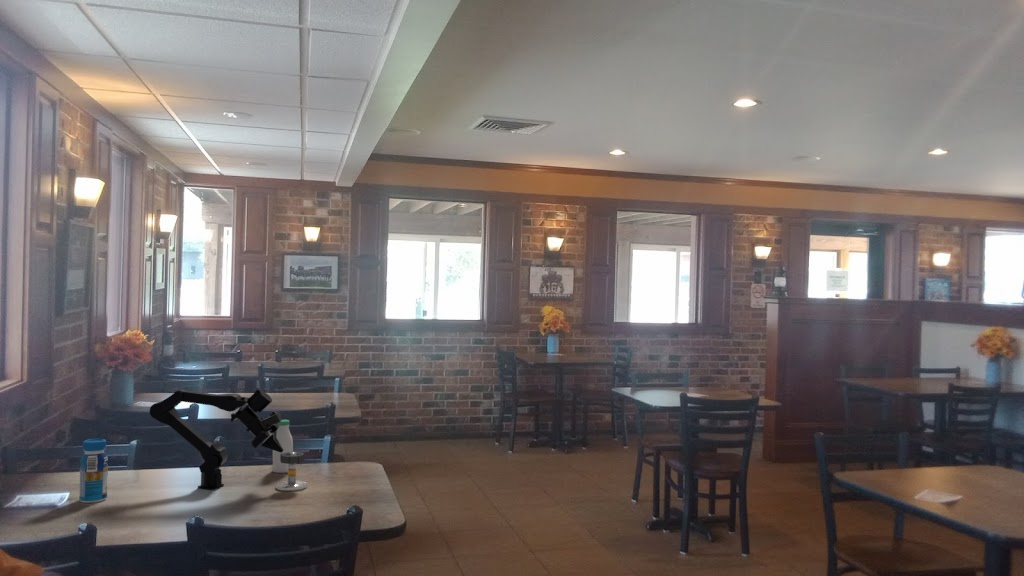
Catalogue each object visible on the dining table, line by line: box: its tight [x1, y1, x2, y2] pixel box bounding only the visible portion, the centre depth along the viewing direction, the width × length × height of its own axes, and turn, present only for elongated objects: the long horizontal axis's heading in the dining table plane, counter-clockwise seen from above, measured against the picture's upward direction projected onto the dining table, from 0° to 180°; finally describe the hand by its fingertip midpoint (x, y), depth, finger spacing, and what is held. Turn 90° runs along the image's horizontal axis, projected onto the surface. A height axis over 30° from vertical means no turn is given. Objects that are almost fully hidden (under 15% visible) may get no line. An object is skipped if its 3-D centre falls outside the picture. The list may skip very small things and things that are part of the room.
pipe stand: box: [275, 451, 308, 492], centre depth 270 cm, size 11×11×12 cm
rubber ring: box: [280, 451, 305, 464], centre depth 270 cm, size 8×8×2 cm
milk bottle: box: [271, 419, 294, 474], centre depth 293 cm, size 8×8×20 cm
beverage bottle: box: [78, 438, 109, 504], centre depth 249 cm, size 8×8×20 cm
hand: (282, 451), depth 270 cm, fingers closed
